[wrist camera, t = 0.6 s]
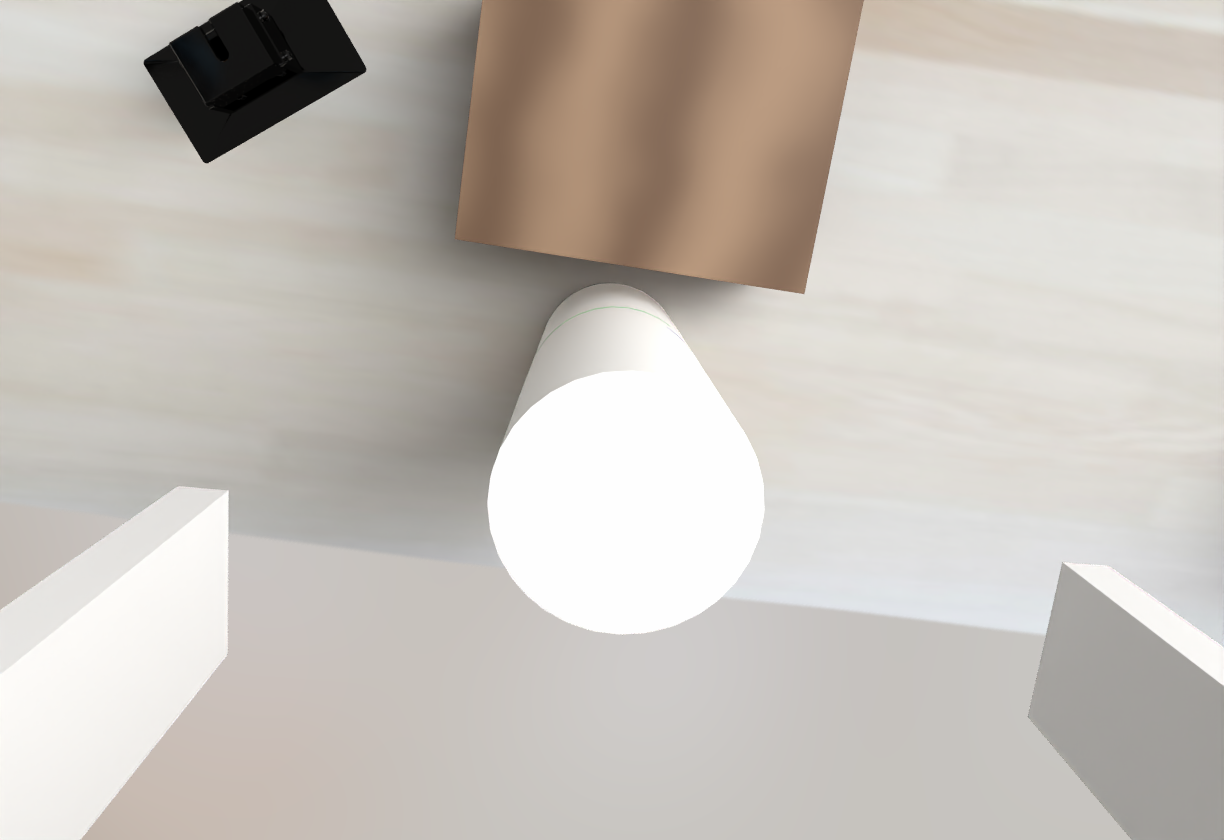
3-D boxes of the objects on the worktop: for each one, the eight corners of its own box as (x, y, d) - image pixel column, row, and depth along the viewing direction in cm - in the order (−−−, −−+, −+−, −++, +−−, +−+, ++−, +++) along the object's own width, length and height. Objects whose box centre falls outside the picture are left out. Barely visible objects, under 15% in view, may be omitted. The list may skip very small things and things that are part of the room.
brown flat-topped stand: (477, 232, 47) (454, 239, 39) (508, -23, 44) (490, -71, 36) (769, 278, 48) (804, 294, 40) (817, 30, 45) (864, -5, 37)
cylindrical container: (605, 446, 49) (617, 684, 25) (512, 348, 48) (429, 500, 24) (706, 355, 48) (821, 513, 24) (613, 253, 47) (635, 311, 23)
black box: (327, -68, 44) (297, -98, 39) (407, 76, 45) (387, 63, 41) (109, 63, 45) (56, 48, 41) (194, 199, 47) (152, 199, 42)
